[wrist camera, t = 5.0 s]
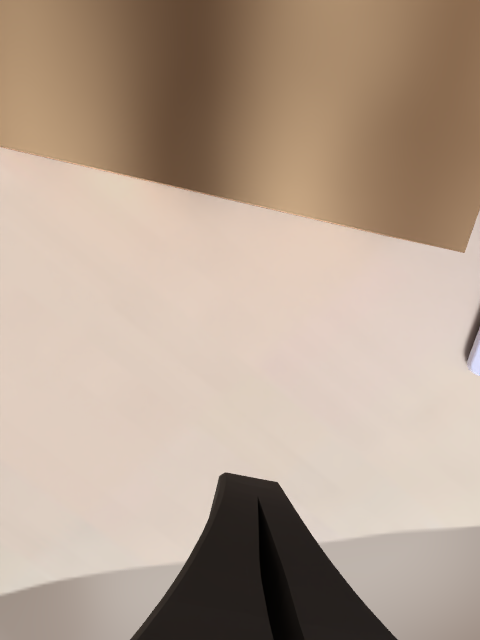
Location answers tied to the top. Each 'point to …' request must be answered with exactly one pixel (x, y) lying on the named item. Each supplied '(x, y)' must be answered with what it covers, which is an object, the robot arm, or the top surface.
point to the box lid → (261, 102)
